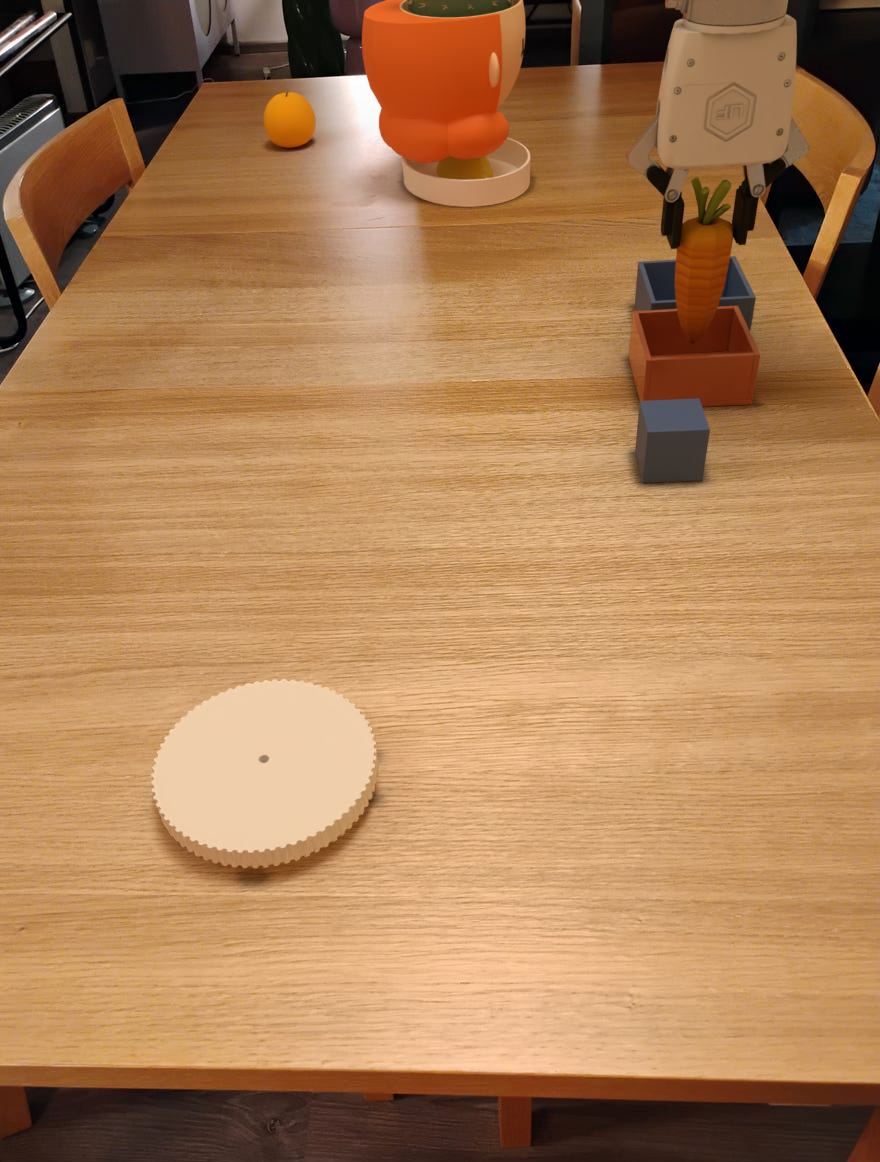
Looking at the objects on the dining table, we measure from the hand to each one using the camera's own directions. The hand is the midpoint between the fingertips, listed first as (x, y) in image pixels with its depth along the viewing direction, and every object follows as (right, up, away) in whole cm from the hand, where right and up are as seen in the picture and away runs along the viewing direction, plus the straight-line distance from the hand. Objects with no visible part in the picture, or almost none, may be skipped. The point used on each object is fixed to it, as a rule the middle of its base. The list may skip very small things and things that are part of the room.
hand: (705, 238), depth 89 cm
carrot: (+1, -7, +7) cm, 10 cm away
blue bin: (+4, -2, +17) cm, 18 cm away
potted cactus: (-19, +28, +54) cm, 64 cm away
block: (-4, -20, -1) cm, 20 cm away
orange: (-43, +43, +72) cm, 94 cm away
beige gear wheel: (-35, -44, -24) cm, 61 cm away
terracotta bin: (+1, -10, +9) cm, 14 cm away
